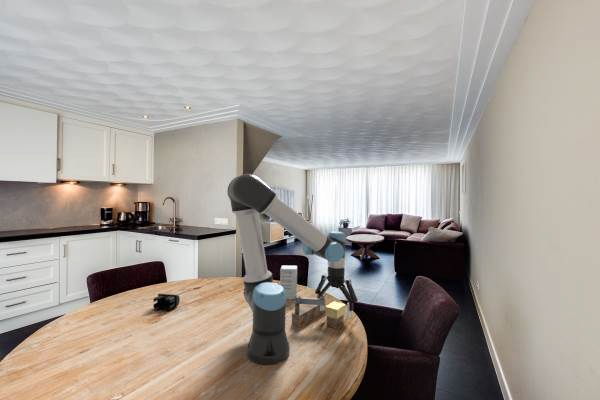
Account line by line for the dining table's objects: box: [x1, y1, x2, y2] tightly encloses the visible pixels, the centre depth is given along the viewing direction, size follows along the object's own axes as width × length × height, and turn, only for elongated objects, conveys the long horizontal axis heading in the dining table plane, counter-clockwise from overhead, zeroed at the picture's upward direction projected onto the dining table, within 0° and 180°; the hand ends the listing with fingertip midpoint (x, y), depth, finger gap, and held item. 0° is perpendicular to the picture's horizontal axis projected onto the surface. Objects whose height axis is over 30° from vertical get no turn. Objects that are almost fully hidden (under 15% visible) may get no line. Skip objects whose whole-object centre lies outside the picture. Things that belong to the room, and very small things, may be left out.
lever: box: [293, 295, 326, 306], centre depth 122 cm, size 14×3×4 cm, turn 83°
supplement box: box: [279, 264, 298, 300], centre depth 158 cm, size 10×9×17 cm
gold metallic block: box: [324, 301, 347, 319], centre depth 125 cm, size 8×6×4 cm
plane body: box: [291, 294, 327, 328], centre depth 130 cm, size 22×4×9 cm, turn 144°
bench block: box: [326, 314, 345, 328], centre depth 125 cm, size 8×4×4 cm, turn 144°
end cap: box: [152, 293, 181, 313], centre depth 138 cm, size 10×7×7 cm
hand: (335, 313), depth 125 cm, fingers open, 13 cm apart
